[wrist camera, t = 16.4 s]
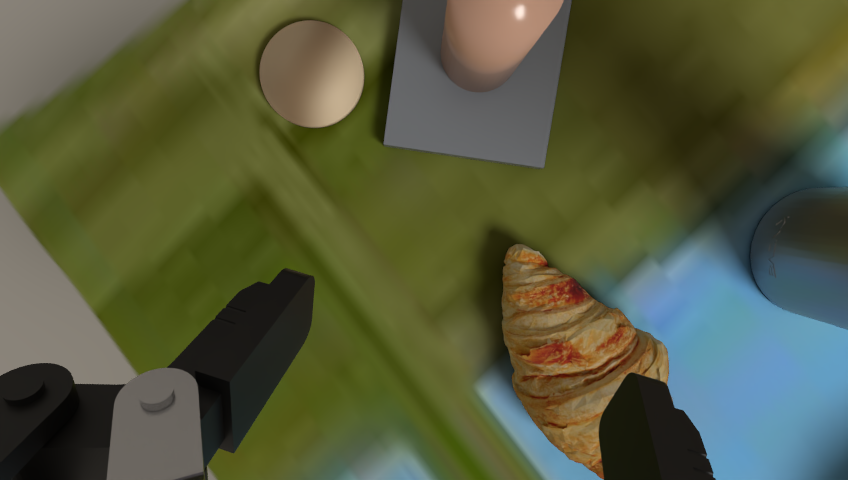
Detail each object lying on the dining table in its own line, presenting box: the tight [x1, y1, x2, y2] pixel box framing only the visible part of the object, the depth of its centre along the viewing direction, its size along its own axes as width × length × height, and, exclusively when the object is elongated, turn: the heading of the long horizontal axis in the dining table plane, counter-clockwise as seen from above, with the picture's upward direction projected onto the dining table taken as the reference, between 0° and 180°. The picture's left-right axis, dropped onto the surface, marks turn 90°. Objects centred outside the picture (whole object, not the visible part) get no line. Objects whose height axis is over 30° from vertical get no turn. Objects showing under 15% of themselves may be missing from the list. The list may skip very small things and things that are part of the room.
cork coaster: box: [260, 20, 364, 128], centre depth 31 cm, size 7×7×1 cm
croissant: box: [502, 244, 673, 479], centre depth 31 cm, size 21×10×8 cm, turn 32°
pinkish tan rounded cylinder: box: [440, 0, 564, 92], centre depth 25 cm, size 5×5×10 cm
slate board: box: [384, 0, 572, 169], centre depth 31 cm, size 11×14×1 cm
